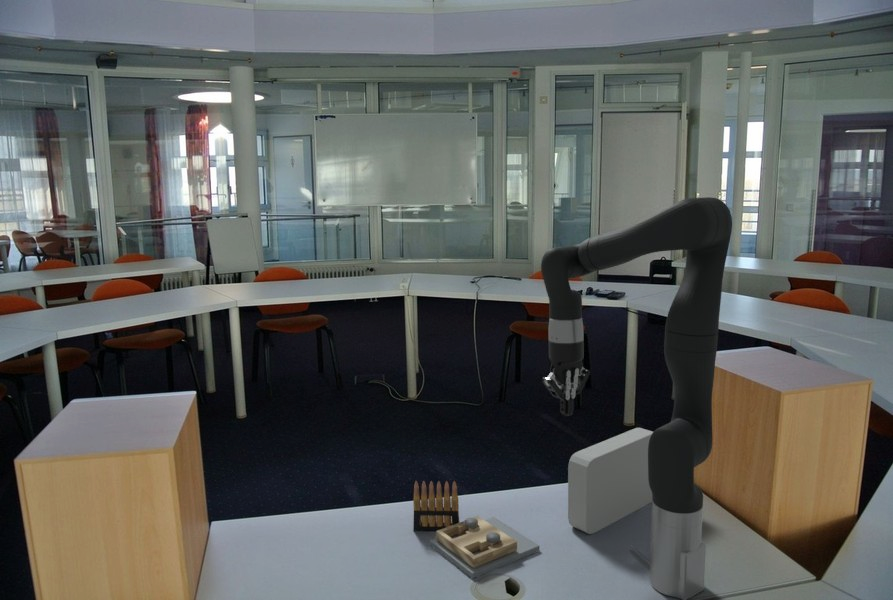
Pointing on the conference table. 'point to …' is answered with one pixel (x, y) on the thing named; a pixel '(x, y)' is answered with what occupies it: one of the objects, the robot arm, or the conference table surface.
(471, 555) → the beech panel
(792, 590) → the conference table surface
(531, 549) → the board
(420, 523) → the ammunition clip
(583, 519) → the rounded white slab
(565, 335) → the robot arm
